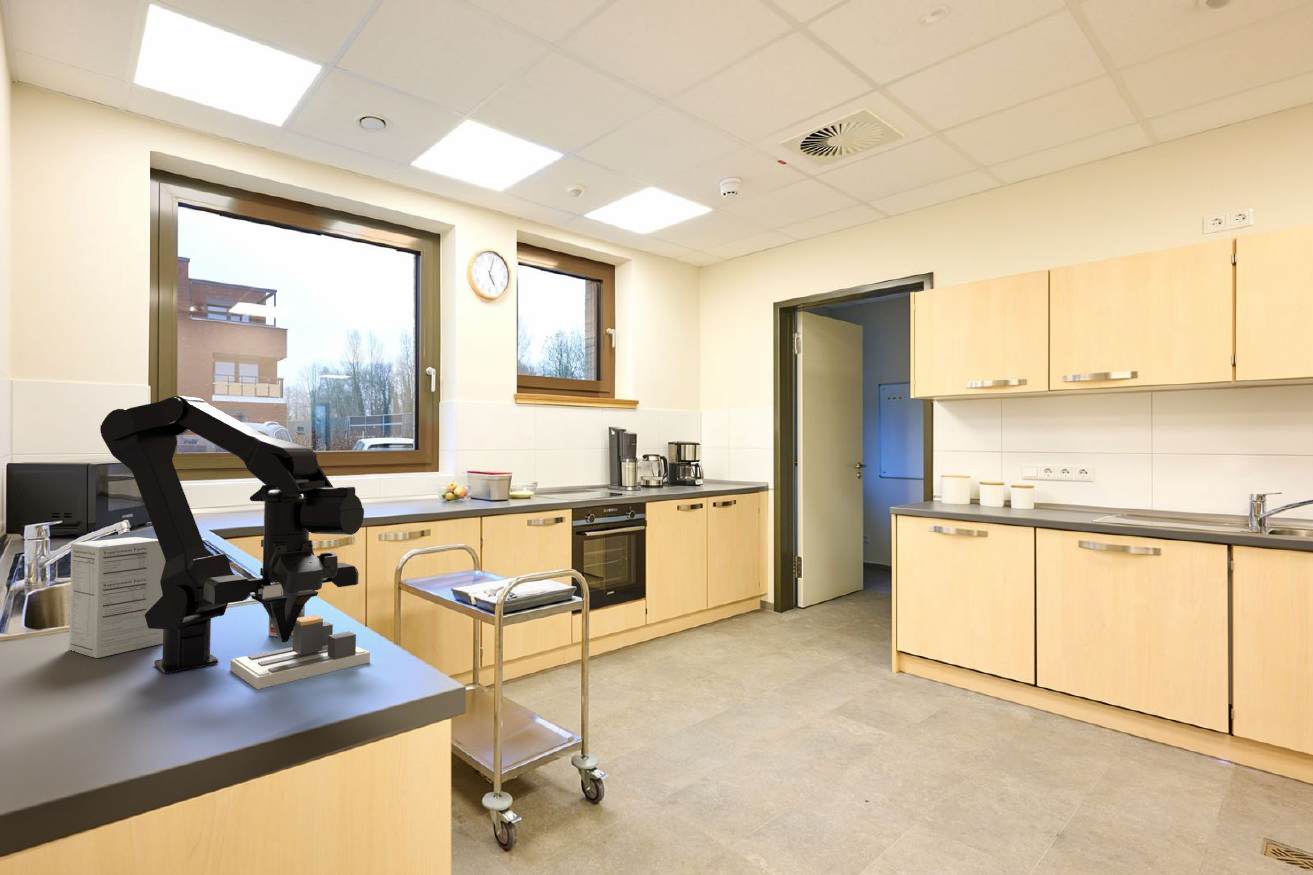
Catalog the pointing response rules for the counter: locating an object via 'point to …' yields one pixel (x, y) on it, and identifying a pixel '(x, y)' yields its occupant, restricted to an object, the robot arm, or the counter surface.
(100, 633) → the supplement box
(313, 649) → the block
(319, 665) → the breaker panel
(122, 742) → the counter surface
